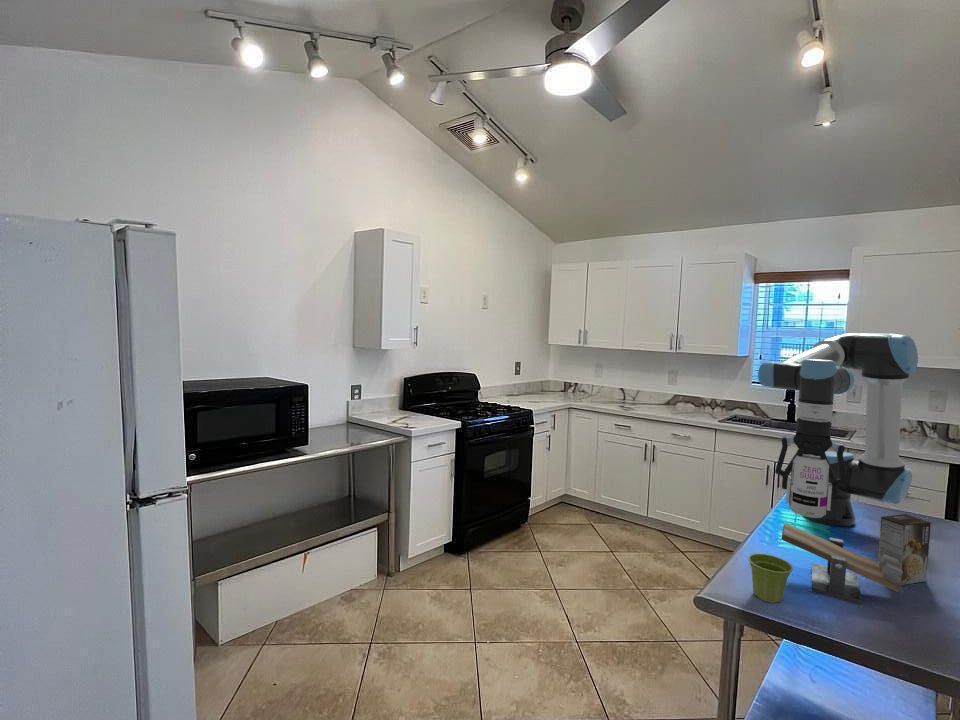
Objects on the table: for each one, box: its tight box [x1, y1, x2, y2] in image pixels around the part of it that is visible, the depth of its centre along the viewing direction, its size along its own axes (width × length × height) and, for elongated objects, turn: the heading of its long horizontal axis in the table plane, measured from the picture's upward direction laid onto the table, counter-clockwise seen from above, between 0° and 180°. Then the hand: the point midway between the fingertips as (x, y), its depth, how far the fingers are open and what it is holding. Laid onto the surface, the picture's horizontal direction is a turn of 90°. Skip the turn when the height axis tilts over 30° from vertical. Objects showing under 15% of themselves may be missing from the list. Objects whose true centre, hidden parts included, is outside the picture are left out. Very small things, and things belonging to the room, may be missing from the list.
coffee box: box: [877, 513, 932, 586], centre depth 134 cm, size 9×6×16 cm
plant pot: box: [747, 553, 794, 604], centre depth 124 cm, size 9×9×9 cm
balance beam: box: [781, 522, 903, 593], centre depth 130 cm, size 10×25×4 cm, turn 57°
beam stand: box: [810, 537, 863, 606], centre depth 130 cm, size 17×10×10 cm, turn 147°
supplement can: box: [788, 453, 829, 518], centre depth 132 cm, size 8×8×15 cm
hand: (807, 505), depth 133 cm, fingers closed on supplement can, 8 cm apart
